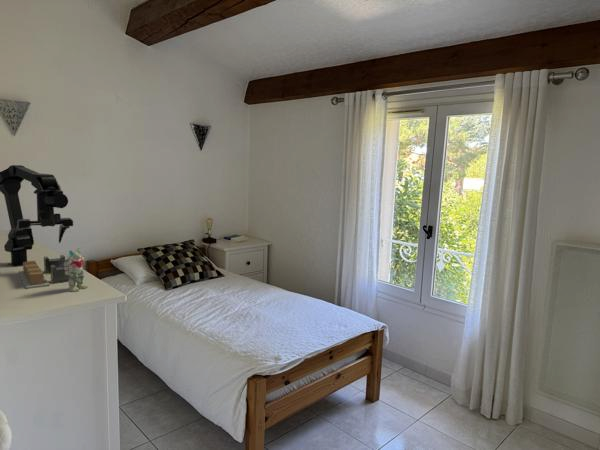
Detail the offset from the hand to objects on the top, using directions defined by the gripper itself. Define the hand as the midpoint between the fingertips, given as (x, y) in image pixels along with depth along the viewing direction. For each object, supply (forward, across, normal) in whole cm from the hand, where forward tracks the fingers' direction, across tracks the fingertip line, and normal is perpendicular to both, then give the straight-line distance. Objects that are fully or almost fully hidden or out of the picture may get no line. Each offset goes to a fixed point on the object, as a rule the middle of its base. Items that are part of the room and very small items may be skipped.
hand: (46, 243), depth 164 cm
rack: (+12, +3, -10) cm, 15 cm away
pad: (+12, -6, -10) cm, 16 cm away
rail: (+11, -6, -10) cm, 16 cm away
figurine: (+11, +6, -31) cm, 33 cm away
